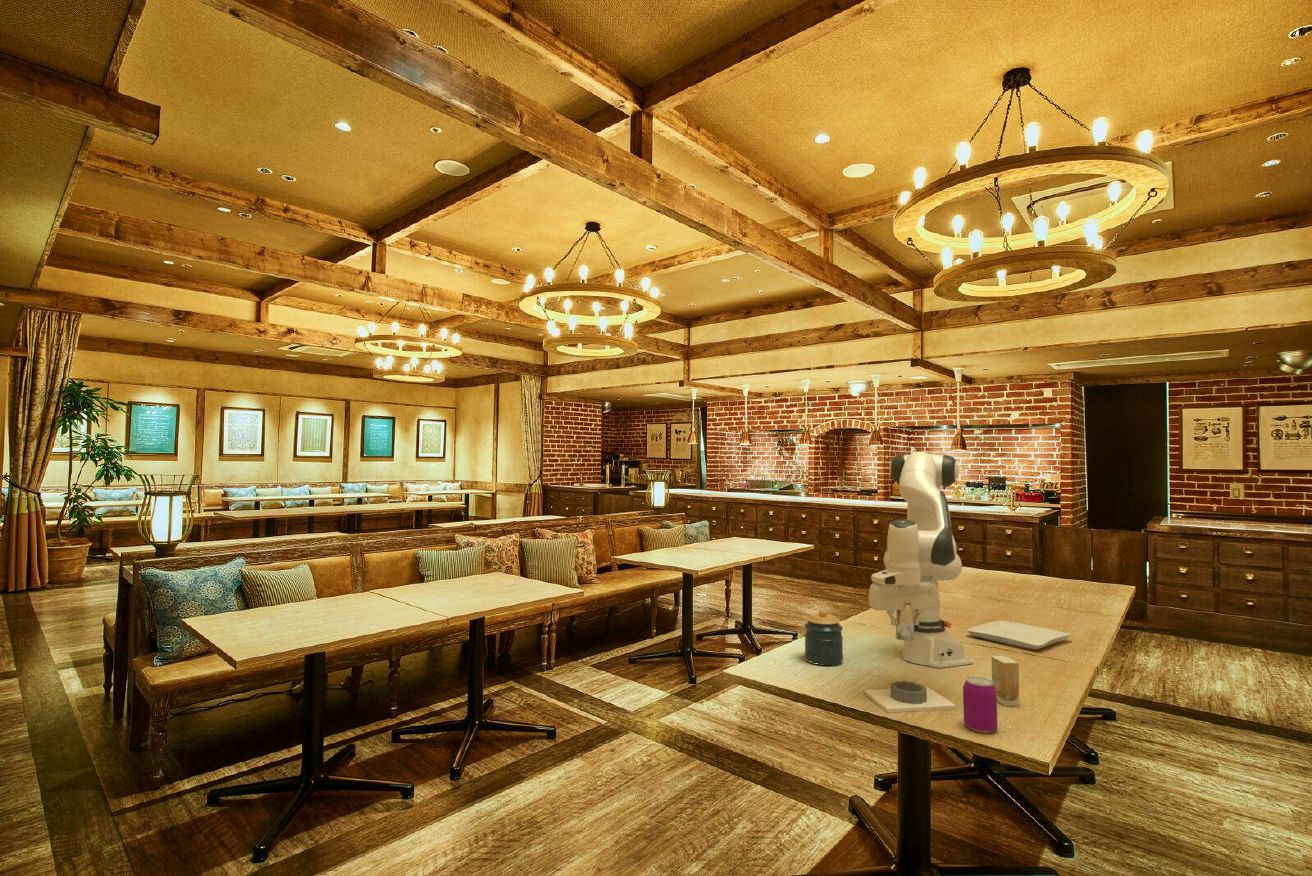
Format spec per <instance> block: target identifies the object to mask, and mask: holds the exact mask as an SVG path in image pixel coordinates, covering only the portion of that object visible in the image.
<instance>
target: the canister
mask: <svg viewBox="0 0 1312 876" xmlns="http://www.w3.org/2000/svg"><path fill="white" fill-rule="evenodd" d="M806 621H807V622H805V624H804V625H803V627H804V628H805V632H804V634H803V635H804V657H805V658H806V659H807V660H808V661H811V662H813V663H818V664H823V665H836V666H839V665H838V664H840V663H841V664H842V663H843V662H842V661H843V660H844V653H843V650H844V648H843V647H844V646H843V639H844V637H843V635H842V630H843V629H844V628H843V625H841V624H840V623H841V620H840V618H838V617H837V616H836V615H833V614H831V613H828V612H827V610H826V609H825V608H821V609H820V610H819V612H817V613H811V615H809V616H807V617H806ZM806 659H805V660H806ZM808 661H807V662H808ZM841 664H840V665H841Z"/></svg>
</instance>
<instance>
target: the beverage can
mask: <svg viewBox="0 0 1312 876" xmlns="http://www.w3.org/2000/svg"><path fill="white" fill-rule="evenodd" d="M962 703H963V706H962V707H963V722H964V725H965V726H966V727H967V728H968V729H970V730H972V731H973V732H976V733H980V734H991V733H995V731H997V729H998V701H997V691H996V689H995V687H994V684H993V682H992V679H989V678H986V677H981V676H976V675H975V676H967V677H966V678H965V681H964V683H963V686H962Z"/></svg>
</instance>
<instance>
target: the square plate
mask: <svg viewBox="0 0 1312 876" xmlns="http://www.w3.org/2000/svg"><path fill="white" fill-rule="evenodd" d="M966 632H968V633H969V634H970V635H971V636H974V637H975V638H976V637H977V638H980V639H983V640H986V641H987V640H988V641H991V642H995V643H1000V644H1005V645H1009V646H1013V647H1016V648H1017V647H1018V648H1021V649H1028V650H1040V649H1043V648H1045V647H1048V646H1050V645H1053V644H1056V643H1059V642H1062V641H1064V640H1067V639H1068V638H1069V637H1071V636H1072V634H1071V633H1069V632H1064V631H1060V630H1054V629H1052V628H1045V627H1041V626H1036V625H1031V624H1025V623H1019V622H1013V621H1007V620H996V621H989V622H987V623H981V624H978V625H975V626H973V627H969V628H967V629H966ZM1042 647H1043V648H1042Z"/></svg>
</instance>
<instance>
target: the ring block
mask: <svg viewBox="0 0 1312 876" xmlns="http://www.w3.org/2000/svg"><path fill="white" fill-rule="evenodd" d="M863 693H865V694H866V695H865V694H864V695H865V696H866V697H868V698H869V697H870V698H871V699H872V702H874V703H875V704H876V705H877V706H879V707H880V708H882V710H884V711H885V712H886V713H889V714H891V713H906V712H928V711H947V710H948V711H949V710H957V705H956V704H955V703H953V702H951V701H950V700H948V699H946V698H945V697H944V696H942V695H941V694H939V693H938V692H936V691H934V690H933V689H931V688H930V687H929V686H928V687H925V685H924V686H923V685H922V684H919V683H917V682H913V681H905V680H900V681H893V682H891V683H890V688H887V689H886V688H883V689H864V692H863ZM870 698H869V699H870ZM871 699H870V700H871Z"/></svg>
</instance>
